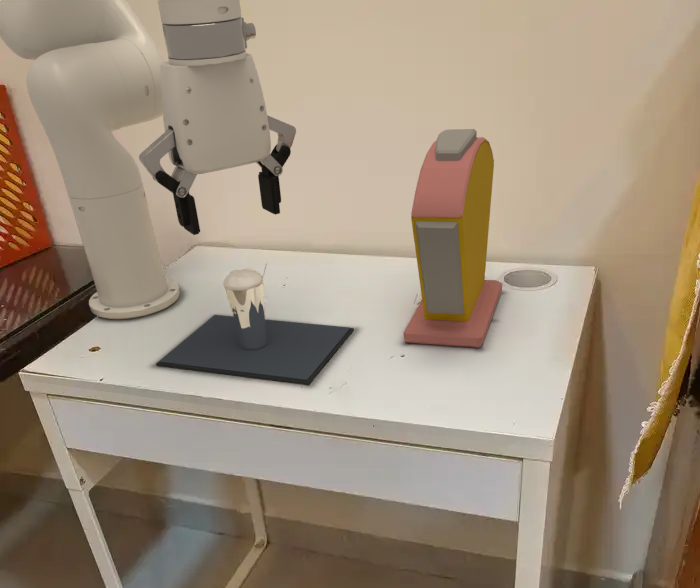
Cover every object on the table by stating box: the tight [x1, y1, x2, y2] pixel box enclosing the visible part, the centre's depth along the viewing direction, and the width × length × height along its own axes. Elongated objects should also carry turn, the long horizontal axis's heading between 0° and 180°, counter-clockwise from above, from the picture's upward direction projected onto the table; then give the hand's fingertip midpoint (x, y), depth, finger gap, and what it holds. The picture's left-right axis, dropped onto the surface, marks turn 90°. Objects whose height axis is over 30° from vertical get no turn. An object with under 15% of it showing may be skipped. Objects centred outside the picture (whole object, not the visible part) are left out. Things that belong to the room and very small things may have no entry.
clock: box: [403, 128, 503, 348], centre depth 84 cm, size 22×9×22 cm, turn 162°
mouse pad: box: [155, 314, 355, 386], centre depth 88 cm, size 20×14×1 cm
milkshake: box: [223, 263, 268, 350], centre depth 84 cm, size 4×5×10 cm
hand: (232, 221), depth 80 cm, fingers open, 9 cm apart
